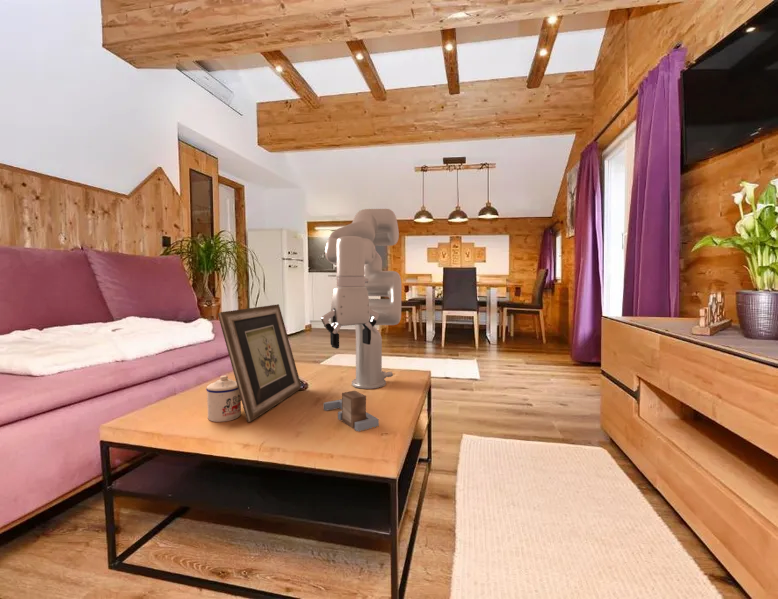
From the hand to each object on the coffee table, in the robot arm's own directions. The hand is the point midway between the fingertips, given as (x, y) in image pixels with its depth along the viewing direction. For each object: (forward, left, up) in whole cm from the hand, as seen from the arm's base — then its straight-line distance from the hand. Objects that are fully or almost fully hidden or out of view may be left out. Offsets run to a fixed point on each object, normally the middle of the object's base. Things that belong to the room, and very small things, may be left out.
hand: (351, 345), depth 106 cm
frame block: (0, +2, -21) cm, 21 cm away
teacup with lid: (+27, -24, -21) cm, 42 cm away
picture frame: (+15, -29, -21) cm, 39 cm away
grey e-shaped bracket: (-1, -3, -21) cm, 21 cm away
